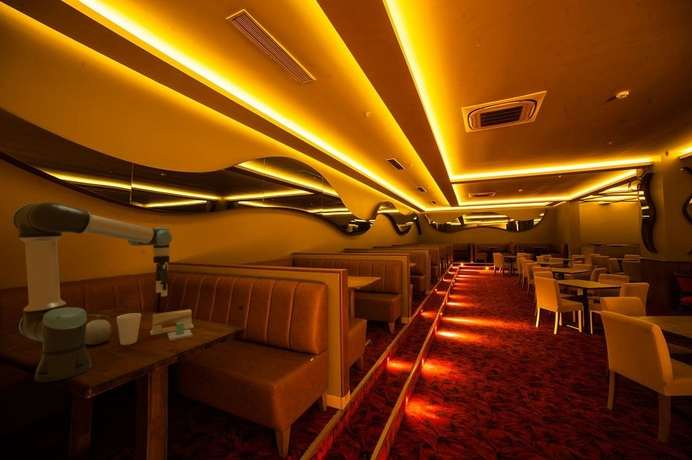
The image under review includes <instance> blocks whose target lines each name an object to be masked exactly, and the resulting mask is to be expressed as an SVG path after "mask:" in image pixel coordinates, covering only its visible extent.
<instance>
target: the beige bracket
mask: <svg viewBox="0 0 692 460" xmlns="http://www.w3.org/2000/svg"><path fill="white" fill-rule="evenodd" d="M181 322H183V323H184V330H188V329H189V330H190V329H194V328H195V327H194V324H193V323H192V320H187V321H181ZM171 332H176V326H175V325H174V326H169V327H163V324H162V325H156V326H153V325H152V329H150V331H149V333H150V336H154V335H159V334H160V335H161V334H167V333H171Z"/></svg>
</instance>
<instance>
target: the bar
mask: <svg viewBox="0 0 692 460" xmlns="http://www.w3.org/2000/svg"><path fill="white" fill-rule="evenodd" d="M192 313H193V311H192V309H191V308H188V309H183V310H175V311H168V312H162V313H161V312H160V313H153V314H152V327H153V326H156V325H162V326H163V325H167V324H174V323H175V324H176V323H178V322H182V321H187V320H192V315H193V314H192Z"/></svg>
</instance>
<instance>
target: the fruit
mask: <svg viewBox="0 0 692 460" xmlns="http://www.w3.org/2000/svg"><path fill="white" fill-rule="evenodd" d="M88 316H91V317H92V316H93V317H96V319H94V320H91V321H89V322H88V323H86V344H87V345H91V346H96V345H100V344H102V343H104V342H106V341H107V340H108V339H109V338H110V335H111V333H112V326H111V324H110V322H109V321H107V320H105V319H100V317H106V318H108V319H109V320H111V318H110V316H107V315H103V314H93V313H92V314H87V317H88Z"/></svg>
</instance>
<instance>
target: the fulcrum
mask: <svg viewBox="0 0 692 460" xmlns="http://www.w3.org/2000/svg"><path fill="white" fill-rule="evenodd" d="M175 325H176V331H172V332H167V337H168V341H169V342H171V341H177V340H182V339H187V338H192V337H193V333H192V331H191V330H190V328H189V329H184V323H183V322H182V321H181V322H175Z"/></svg>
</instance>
